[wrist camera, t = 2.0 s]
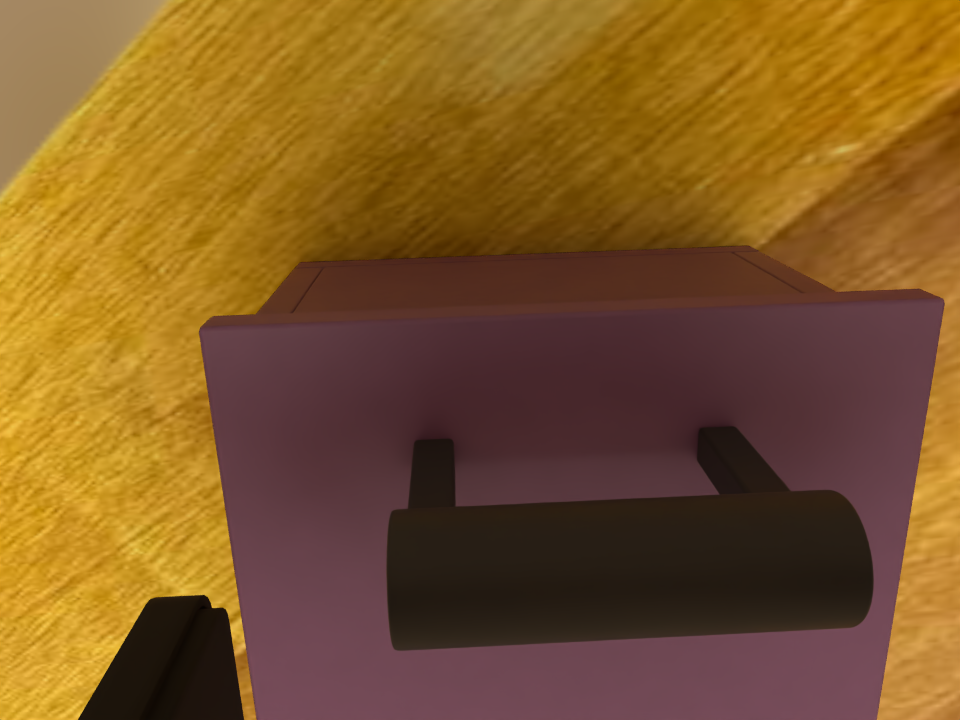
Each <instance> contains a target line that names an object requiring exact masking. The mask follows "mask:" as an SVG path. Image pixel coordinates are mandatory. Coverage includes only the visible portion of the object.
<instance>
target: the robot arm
mask: <svg viewBox="0 0 960 720" xmlns="http://www.w3.org/2000/svg"><path fill="white" fill-rule="evenodd" d="M78 720H244V717H243V710H242V703H241V697H240V690H239V683H238V677H237V670H236V663H235V657H234V650H233V643H232V637H231V630H230V623H229V618H228V614H227V611H226V609H224V608H212V607H211V603H210V601H209V599H208V597H206V596H205V595H195V596H175V597H156V598H152V599H150V600H149V601H148V603H147V604H146V605H145V607H144V609H143V610H142V612H141V614H140V615H139V617H138V619H137V620H136V622H135V624H134V626H133V627H132V629H131V631H130V632H129V634H128V636H127V637H126V639H125V641H124V643H123V644H122V646H121V648H120V649H119V651H118V653H117V654H116V656H115V658H114V659H113V661H112V663H111V665H110V666H109V668H108V670H107V671H106V673H105V675H104V676H103V678H102V680H101V681H100V683H99V685H98V687H97V688H96V690H95V692H94V693H93V695H92V697H91V698H90V700H89V702H88V703H87V705H86V707H85V709H84V710H83V712H82V714H81V715H80V717H79V719H78Z"/></svg>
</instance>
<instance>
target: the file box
mask: <svg viewBox="0 0 960 720" xmlns="http://www.w3.org/2000/svg"><path fill="white" fill-rule="evenodd" d="M824 292H836V291H834V290H832V289H830V288H828V287H826V286H824V285H823V284H821V283H819V282H817V281H815V280H813V279H811V278H809V277H807V276H805V275H803V274H801V273H799V272H798V271H796V270H794V269H792V268H790V267H788V266H786V265H784V264H782V263H780V262H778V261H776V260H774V259H773V258H771V257H769V256H767V255H765V254H763V253H761V252H759V251H758V250H756V249H754V248H752V247H750V246H730V247H702V248H675V249H648V250H621V251H594V252H567V253H540V254H513V255H486V256H459V257H432V258H405V259H378V260H350V261H323V262H300V263H299V264H298V265H297V266H296V267H295V269H294V270H293V271H292V272H291V273H290V274H289V276H288V277H287V278H286V279H285V280H284V282H283V283H282V284H281V285H280V286H279V287H278V289H277V290H276V291H275V292H274V293H273V295H272V296H271V297H270V298H269V299H268V300H267V302H266V303H265V304H264V305H263V306H262V308H261V309H260V310H259V311H258V312H257V313H256V314H281V313H307V312H333V311H359V310H385V309H411V308H437V307H462V306H488V305H514V304H540V303H566V302H592V301H617V300H643V299H669V298H695V297H721V296H747V295H773V294H798V293H824Z"/></svg>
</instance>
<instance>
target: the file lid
mask: <svg viewBox="0 0 960 720" xmlns="http://www.w3.org/2000/svg"><path fill="white" fill-rule="evenodd" d="M944 304H945V303H944V300H943V299H942V298H940V297H938V296H935V295H933V294H930V293H928V292H926V291H923V290H921V289H902V290H876V291H850V292H824V293H798V294H773V295H747V296H721V297H695V298H669V299H643V300H617V301H592V302H566V303H540V304H514V305H488V306H462V307H437V308H411V309H385V310H359V311H333V312H307V313H281V314H256V315H230V316H213V317H211V318H210V319H209V320H208V321H207V322H206V323H204V324H203V325H202V326H201V327H200V330H199V335H200V342H201V349H202V356H203V362H204V369H205V376H206V382H207V389H208V396H209V402H210V409H211V416H212V423H213V429H214V436H215V443H216V449H217V456H218V463H219V470H220V476H221V483H222V490H223V496H224V503H225V510H226V516H227V523H228V530H229V537H230V543H231V550H232V557H233V563H234V570H235V577H236V584H237V590H238V597H239V604H240V610H241V617H242V624H243V630H244V637H245V644H246V651H247V657H248V664H249V671H250V677H251V684H252V691H253V698H254V704H255V711H256V718H257V720H877V714H878V708H879V702H880V696H881V690H882V684H883V678H884V672H885V665H886V659H887V653H888V647H889V641H890V635H891V629H892V623H893V616H894V610H895V604H896V598H897V592H898V586H899V580H900V574H901V567H902V561H903V555H904V549H905V543H906V537H907V531H908V525H909V518H910V512H911V506H912V500H913V494H914V488H915V482H916V476H917V469H918V463H919V457H920V451H921V445H922V439H923V433H924V427H925V420H926V414H927V408H928V402H929V396H930V390H931V384H932V377H933V371H934V365H935V359H936V353H937V347H938V341H939V335H940V328H941V322H942V316H943V310H944Z"/></svg>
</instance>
